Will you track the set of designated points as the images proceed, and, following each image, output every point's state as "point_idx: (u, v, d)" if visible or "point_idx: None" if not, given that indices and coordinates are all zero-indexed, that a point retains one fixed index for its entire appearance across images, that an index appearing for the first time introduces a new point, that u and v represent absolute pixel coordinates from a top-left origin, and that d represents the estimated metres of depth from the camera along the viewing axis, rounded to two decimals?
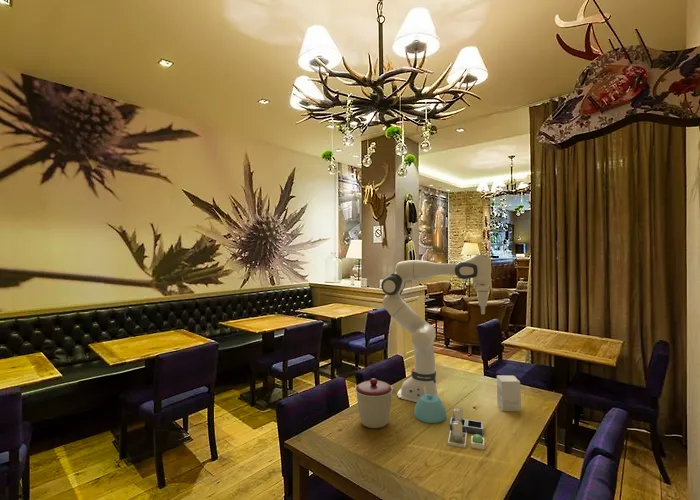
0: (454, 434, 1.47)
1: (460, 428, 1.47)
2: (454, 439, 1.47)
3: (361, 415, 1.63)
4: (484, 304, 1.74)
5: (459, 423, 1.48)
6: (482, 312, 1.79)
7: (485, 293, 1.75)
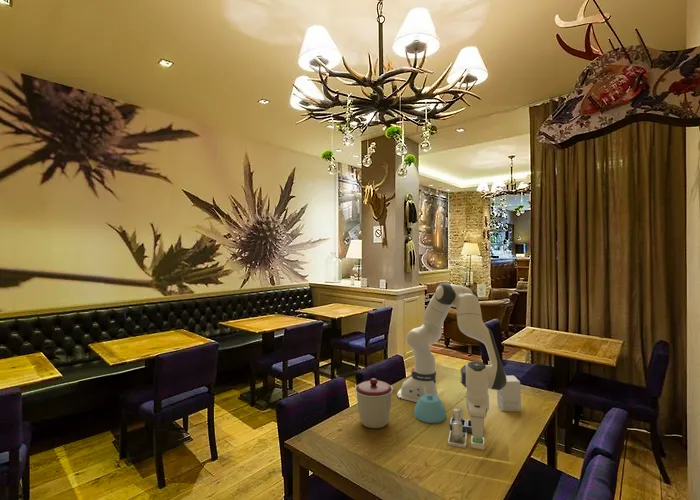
0: (454, 434, 1.47)
1: (460, 428, 1.47)
2: (454, 439, 1.47)
3: (361, 415, 1.63)
4: (479, 435, 1.35)
5: (459, 423, 1.48)
6: None
7: (480, 420, 1.36)
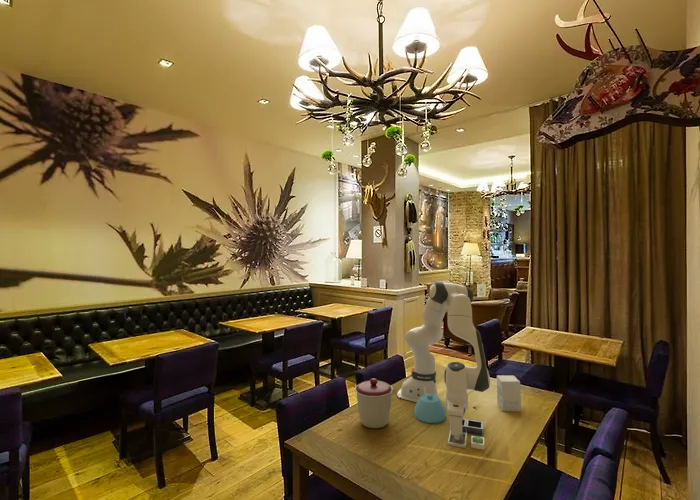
0: None
1: None
2: (454, 439, 1.47)
3: (361, 415, 1.63)
4: (457, 434, 1.39)
5: None
6: (456, 437, 1.45)
7: (458, 419, 1.40)
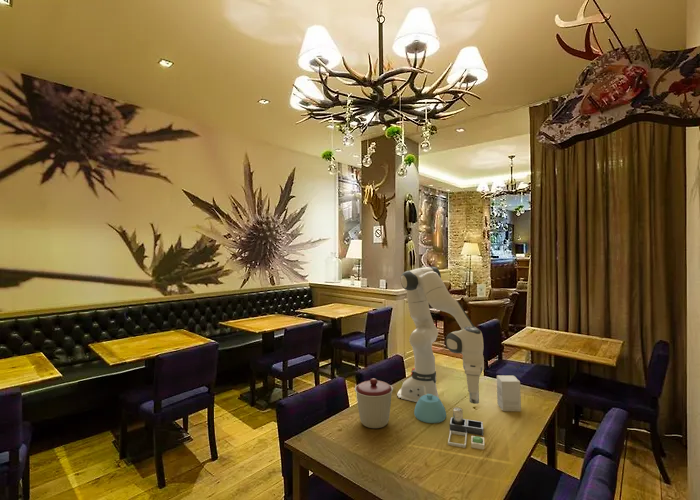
0: (471, 394, 1.55)
1: None
2: (471, 399, 1.55)
3: (361, 415, 1.63)
4: (475, 391, 1.47)
5: None
6: (473, 396, 1.53)
7: (476, 378, 1.47)
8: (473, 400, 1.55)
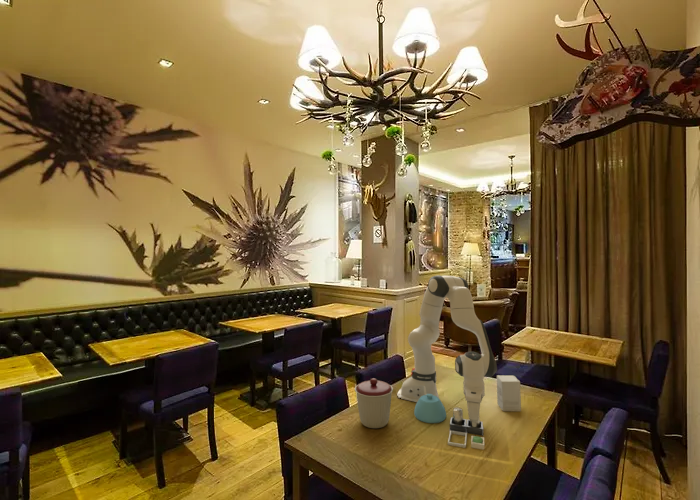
0: None
1: None
2: None
3: (361, 415, 1.63)
4: (475, 419, 1.47)
5: None
6: (473, 424, 1.52)
7: (476, 405, 1.47)
8: None
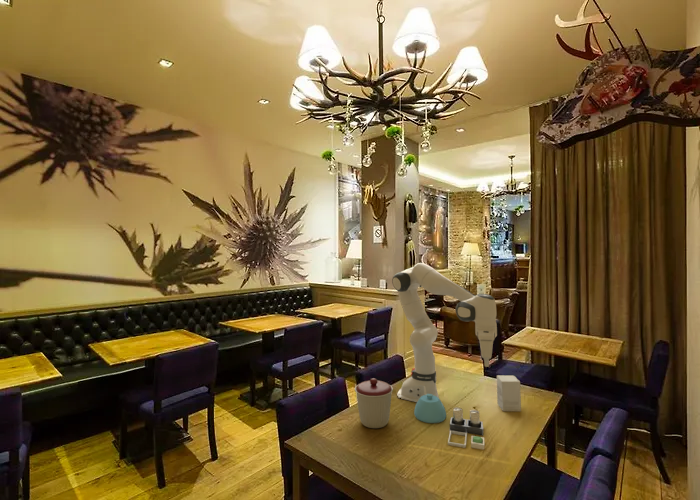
0: (472, 422, 1.55)
1: (477, 416, 1.55)
2: None
3: (361, 415, 1.63)
4: (488, 356, 1.46)
5: (476, 412, 1.56)
6: (486, 364, 1.50)
7: (489, 343, 1.46)
8: None
